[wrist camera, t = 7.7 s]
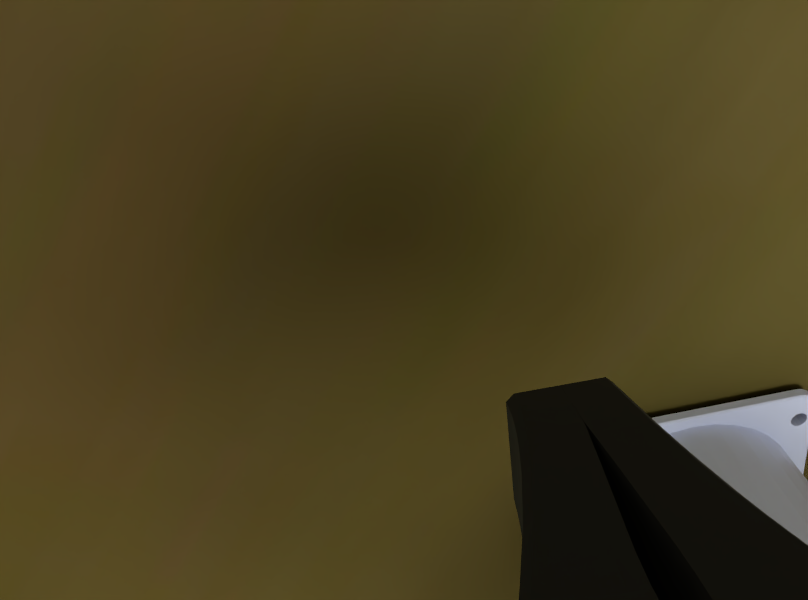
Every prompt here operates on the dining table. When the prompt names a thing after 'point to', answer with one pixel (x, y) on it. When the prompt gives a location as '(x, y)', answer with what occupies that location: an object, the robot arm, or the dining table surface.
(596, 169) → the dining table surface
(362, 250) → the dining table surface
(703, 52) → the dining table surface
